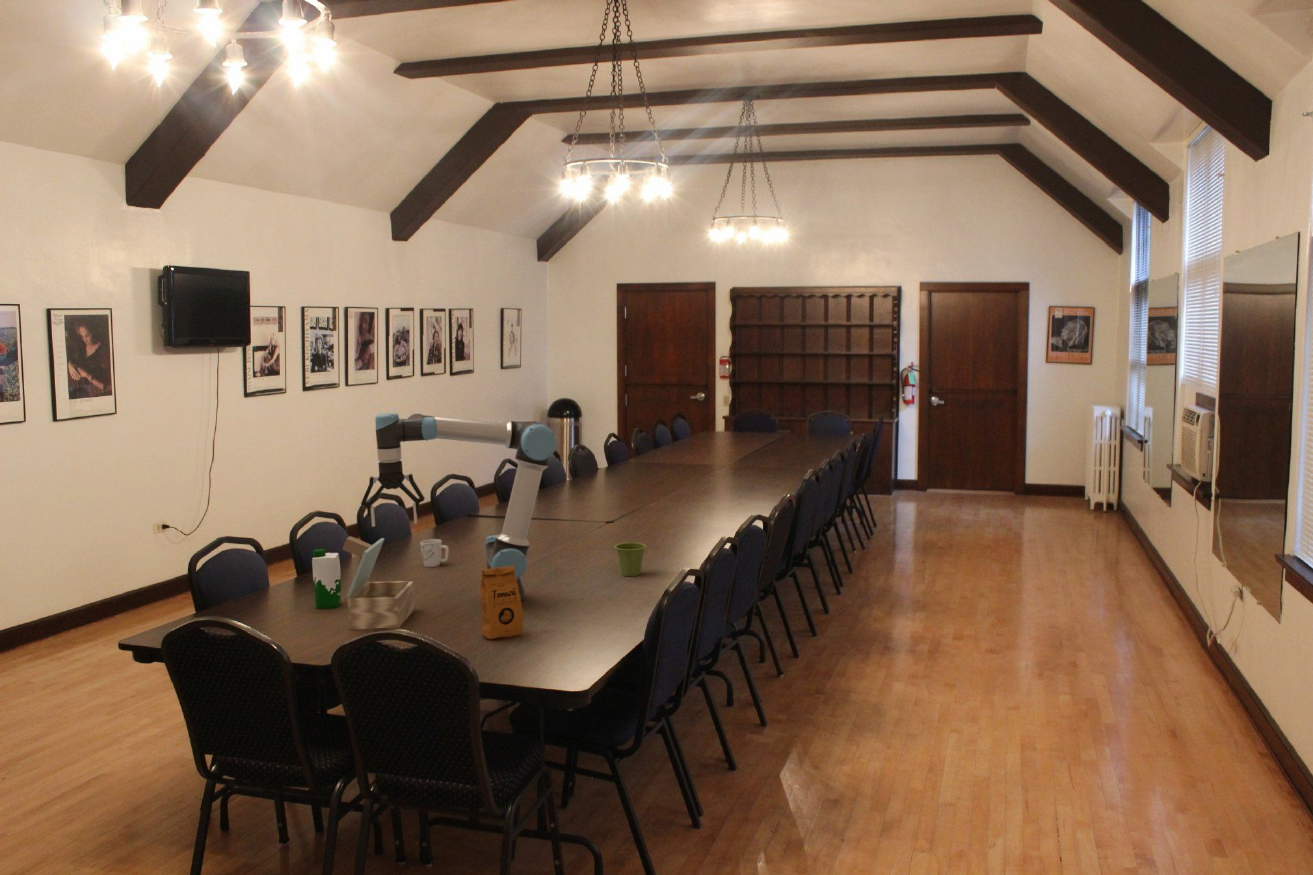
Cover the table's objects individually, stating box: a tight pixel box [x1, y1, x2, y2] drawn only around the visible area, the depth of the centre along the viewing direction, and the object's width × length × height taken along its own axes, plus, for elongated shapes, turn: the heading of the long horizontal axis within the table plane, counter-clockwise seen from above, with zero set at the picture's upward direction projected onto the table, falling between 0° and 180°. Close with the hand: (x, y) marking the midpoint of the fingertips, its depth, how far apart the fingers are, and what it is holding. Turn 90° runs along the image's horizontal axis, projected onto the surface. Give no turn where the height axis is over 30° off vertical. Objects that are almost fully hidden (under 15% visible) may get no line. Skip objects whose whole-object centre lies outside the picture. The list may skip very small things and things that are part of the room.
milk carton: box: [311, 548, 342, 610], centre depth 366 cm, size 9×9×20 cm
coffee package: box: [479, 566, 524, 640], centre depth 327 cm, size 10×12×22 cm
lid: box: [342, 536, 385, 598], centre depth 347 cm, size 16×21×10 cm
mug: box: [419, 538, 450, 568], centre depth 424 cm, size 11×8×10 cm
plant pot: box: [614, 542, 647, 577], centre depth 402 cm, size 12×12×11 cm
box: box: [347, 580, 416, 630], centre depth 348 cm, size 16×22×10 cm
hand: (394, 524), depth 345 cm, fingers open, 13 cm apart
